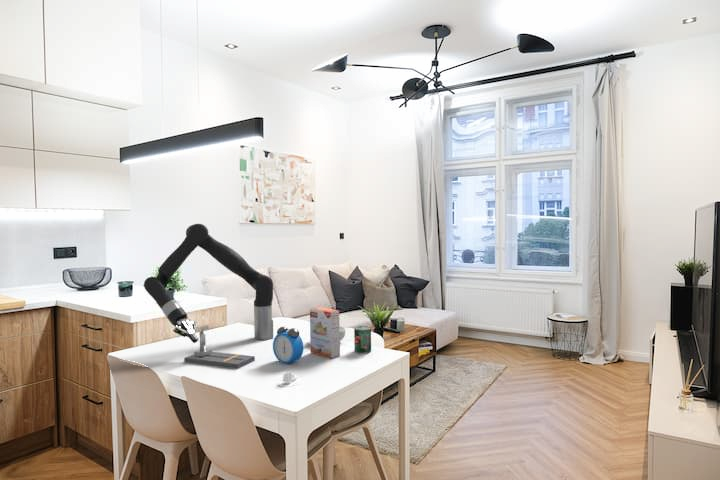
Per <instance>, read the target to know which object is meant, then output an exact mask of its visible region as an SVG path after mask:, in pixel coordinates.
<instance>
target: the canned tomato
mask: <svg viewBox="0 0 720 480" xmlns="http://www.w3.org/2000/svg"><path fill="white" fill-rule="evenodd" d="M353 331H354V332H353V333H354V341H353V342H354V343H353V344H354V353H357V354H370V353H371V352H372V327H371V326H368V325H358V326H355V327H354V328H353Z"/></svg>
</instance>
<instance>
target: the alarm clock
mask: <svg viewBox="0 0 720 480" xmlns="http://www.w3.org/2000/svg"><path fill="white" fill-rule="evenodd" d="M272 342H273V343H272V351H273V354H274V356H275V357H276V359H277V361H278V363H282V364H285V365H287V364H289V365H292V363H293V362H295V361H298V360H300V359H301V358H302V355H304V354H303V353H304V343H303V342H304V341H303V339H302V338H301V336H300V332H299V329H297V328H288V327H286V326H279V328H278V329H277V330H276V335H275V337H273V341H272Z"/></svg>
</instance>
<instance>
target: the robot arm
mask: <svg viewBox="0 0 720 480" xmlns="http://www.w3.org/2000/svg"><path fill="white" fill-rule="evenodd" d="M185 235H186V236H185V239H184V240H183V241H182V242H181V244H180V245H179V246H178V247H176V249H175V250H174V251H172V252H171V253H170V255H169V256H168V257H167V258H166V259H165V260H164V261H163V262H162V264H161V265H160V266H159V267H158V269H157V272H158V274H157V275H156V276H149V277H147V278H146V279H145V280H144V283H143V287H144V290H145V291H146V292H147V294H149V296H151V298H152V299H153V300H154V301H155V302H156V304H157V305H158V307H159V308H160V309H161V311H162V313H163V314H164V316H165V317H166V318H167V320H168V321H169V322H170V324H171V325H172V326H174V329H173V330H172V332H174V333H175V334H178V335H180V336H182V337H184V338H186V337H187V338H188V339H190V341H191V342H192V343H193V344H195V343H197V342H198V341H199V337H198V336H197V334H196V327H197V322H196V321H191V319H189V318H188V314H187V313H186V311H185V310H184V309H183V308H182V306H181V305H180V303H179V302H177V300H176V299H175V298H174V296H173V295H172V294H171V293H170V292H169V291H168V290H167V289H166V288H167V286H168V285H169V282H170V281H171V279H172V277H173V276H174V275H175V273H177V271H178V270H179V269H180V267H181V266H182V265H183V264H184V262H185V261H186V260H187V258H188V257H189V256H190V255H191V253H193V251H194V250H195V249H196V248H198V247H199V248H201V249H202V250H204V251H205V252H206V253H208V254H209V255H210V256H211V257H212V258H213V259H215V260H216V261H217V262H218V263H219V264H220V265H222V266H224V267H225V268H226V269H228V270H229V271H230V272H232V273H233V274H235V275H237V276H238V277H240V278H242V279H243V280H244V281H245V282H246V283H247V284H249V286H251V288H253V290H254V291H255V298H254V299H253V300H254V301H253V322H254V324H253V325H254V326H253V328H254V330H253V331H254V332H253V333H254V334H253V335H254V339H255V340H257V341H264V340H270V339H274V320H273V300H274V282H273V280H272V278H271V277H270V276H268V275H265V274H262V273H261V272H259V271H257V270H256V269H254V268H253V267H252V266H250V264H249V263H248V262H247V260H245V259H244V257H243V256H242V255H240V254H239V253H238V252H236V251H235V250H234V249H233V248H232V247H229V246H228V245H226V244H224V243H222V242H220V241H218V240H217V239H215V238H214V237H213V236H212V235H210V234H209V229H208V227H207V226H206V225H205V224H202V223H194V224H192V225H190V226H188V227H187V228H186V230H185Z"/></svg>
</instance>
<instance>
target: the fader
mask: <svg viewBox="0 0 720 480" xmlns="http://www.w3.org/2000/svg"><path fill="white" fill-rule="evenodd" d="M209 326H210V324H201V325H198V326H197V327H196V332H197V333H199V349H197V350H195V351H193V354H194V355H196V356H205V355H208V354H211V353H212V352H213V350H212V349H211V348H206V347H207V345H206V342H207V341H206V331H208V330H210V328H209ZM196 332H195V333H196Z"/></svg>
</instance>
